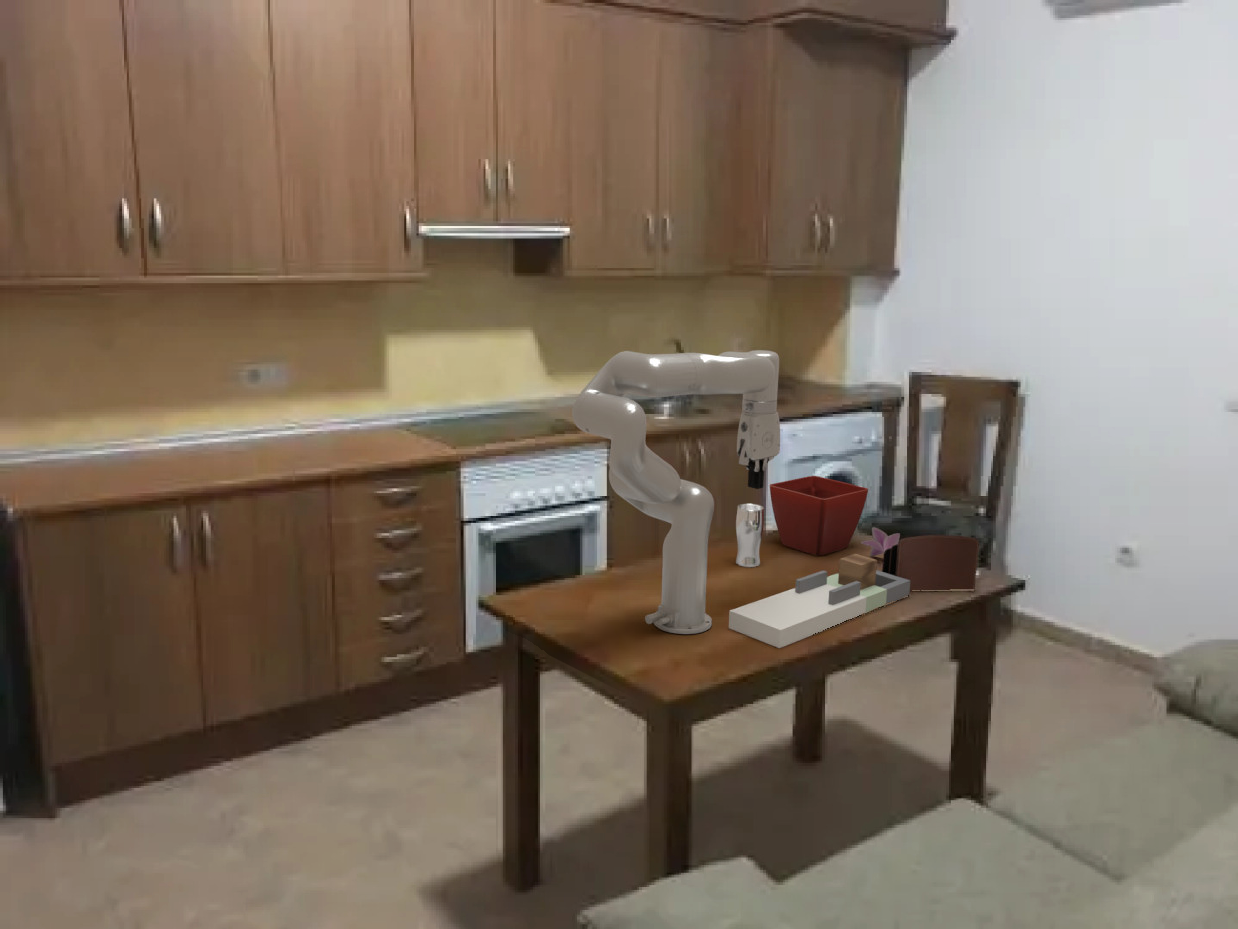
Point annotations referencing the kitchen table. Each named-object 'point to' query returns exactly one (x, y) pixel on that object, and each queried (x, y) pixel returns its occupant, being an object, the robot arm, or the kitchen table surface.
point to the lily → (881, 541)
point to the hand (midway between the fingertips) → (755, 487)
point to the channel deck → (813, 607)
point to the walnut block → (857, 570)
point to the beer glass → (749, 534)
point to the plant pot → (817, 513)
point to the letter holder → (934, 561)
